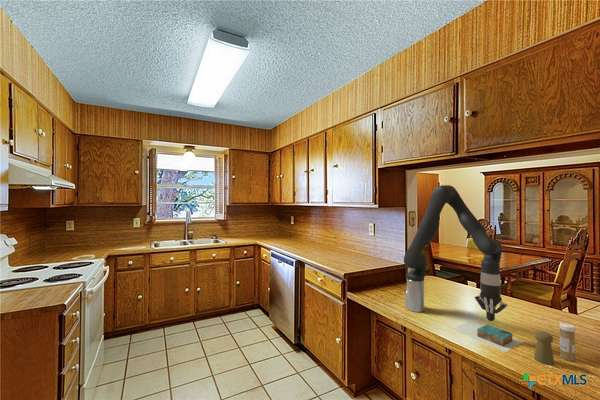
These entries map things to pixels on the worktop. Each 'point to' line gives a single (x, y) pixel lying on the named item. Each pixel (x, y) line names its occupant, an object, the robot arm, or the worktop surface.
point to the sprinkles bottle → (567, 341)
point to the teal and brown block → (494, 335)
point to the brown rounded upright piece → (544, 348)
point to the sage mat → (471, 331)
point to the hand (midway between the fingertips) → (490, 320)
